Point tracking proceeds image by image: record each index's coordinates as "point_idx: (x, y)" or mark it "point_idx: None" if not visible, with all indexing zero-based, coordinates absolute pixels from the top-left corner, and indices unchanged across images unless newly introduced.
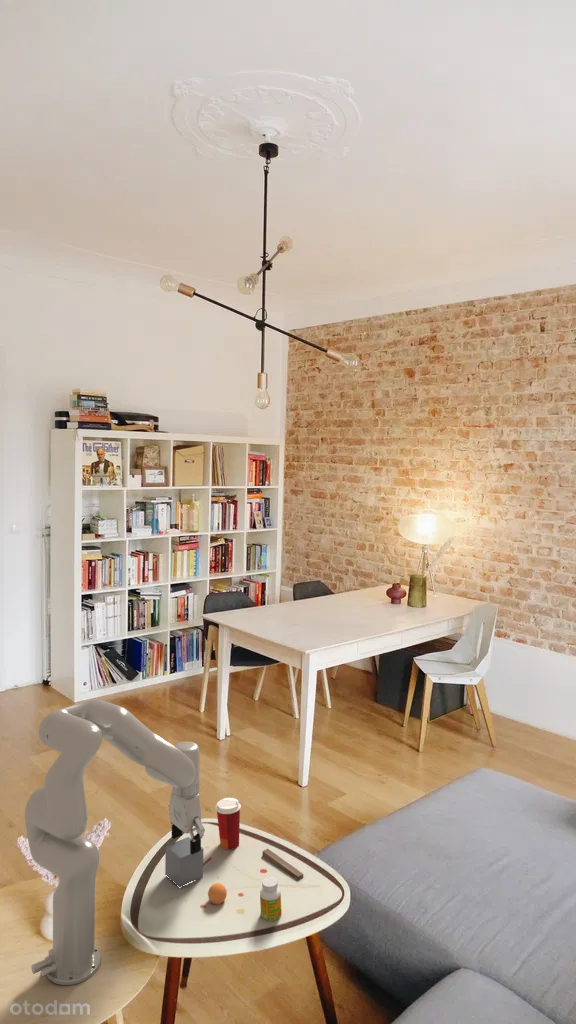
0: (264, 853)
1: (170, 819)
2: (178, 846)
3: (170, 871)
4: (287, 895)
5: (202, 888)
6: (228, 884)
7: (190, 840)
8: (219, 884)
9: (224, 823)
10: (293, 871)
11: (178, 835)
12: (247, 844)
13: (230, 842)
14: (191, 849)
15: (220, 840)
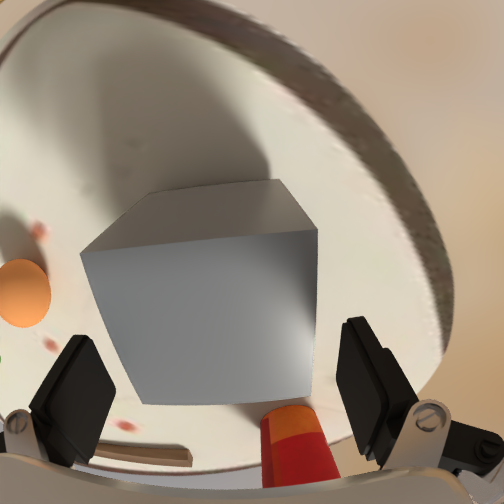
0: (179, 457)
1: (419, 494)
2: (243, 313)
3: (228, 192)
4: (29, 401)
5: None
6: (103, 347)
7: (40, 411)
8: (4, 317)
9: None
10: None
11: (340, 365)
12: (259, 447)
13: (264, 440)
14: (60, 359)
15: (301, 425)
